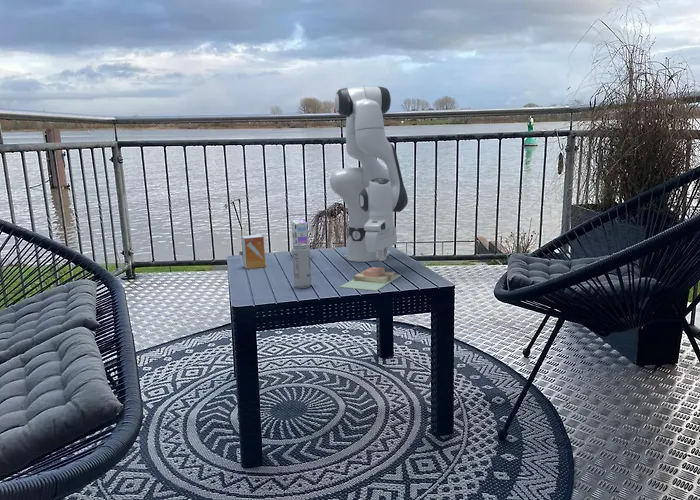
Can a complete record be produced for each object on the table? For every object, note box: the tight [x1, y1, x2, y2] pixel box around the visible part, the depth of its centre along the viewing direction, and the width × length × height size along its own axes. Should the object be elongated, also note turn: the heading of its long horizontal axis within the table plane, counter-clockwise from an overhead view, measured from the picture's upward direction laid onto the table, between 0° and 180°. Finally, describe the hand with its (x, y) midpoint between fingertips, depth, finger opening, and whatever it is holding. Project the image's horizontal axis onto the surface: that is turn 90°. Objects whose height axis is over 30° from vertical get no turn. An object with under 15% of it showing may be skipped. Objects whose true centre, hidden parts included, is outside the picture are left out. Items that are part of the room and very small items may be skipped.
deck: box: [353, 270, 397, 283], centre depth 188 cm, size 10×12×2 cm
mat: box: [339, 274, 402, 292], centre depth 186 cm, size 22×14×1 cm, turn 152°
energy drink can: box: [291, 243, 312, 289], centre depth 181 cm, size 6×6×15 cm
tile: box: [363, 266, 385, 277], centre depth 187 cm, size 7×5×2 cm
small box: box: [241, 234, 266, 270], centre depth 216 cm, size 8×6×13 cm
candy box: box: [290, 219, 310, 248], centre depth 231 cm, size 14×6×16 cm, turn 12°
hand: (382, 260), depth 192 cm, fingers closed
